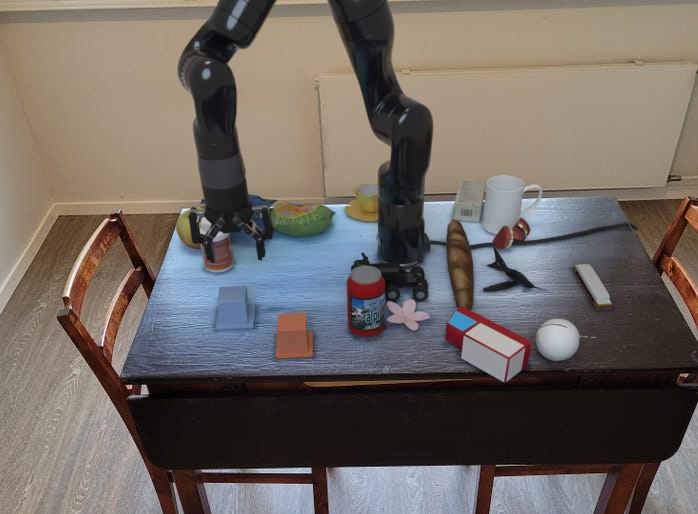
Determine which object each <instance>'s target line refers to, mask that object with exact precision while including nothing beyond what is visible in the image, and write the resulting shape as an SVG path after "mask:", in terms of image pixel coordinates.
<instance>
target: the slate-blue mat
mask: <svg viewBox="0 0 698 514" xmlns="http://www.w3.org/2000/svg"><path fill="white" fill-rule="evenodd" d="M256 309H257V306H256V303H249V316H248V323H233V324H221V321H220V316H219V310H217V316H216V322H215V331H224V330H245V329H247V330H248V329H254V328H255V318H256Z"/></svg>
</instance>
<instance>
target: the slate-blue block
mask: <svg viewBox="0 0 698 514" xmlns="http://www.w3.org/2000/svg"><path fill="white" fill-rule="evenodd" d="M216 304H217V309H218V310H219V316H220V321H221V324H233V323H248V316H249V304H250V302H249V295H248V287H247V285H234V286H233V285H232V286H219V289H218V295H217V301H216ZM218 310H217V311H218Z"/></svg>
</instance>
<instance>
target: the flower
mask: <svg viewBox="0 0 698 514" xmlns="http://www.w3.org/2000/svg"><path fill="white" fill-rule="evenodd" d="M385 305H386V306H387V308H388V309H389V311H390V312H391V313H392V314H391V315H390V316H388V317H387V319H386V321H387V322H389V323H391V324H404V325H405V326H406V327H407V328H408V329H410V330H411V331H417V330H418V329H419V323H418V321H420V322H421V321H424V320H428V319H430V318H431V316H430V314H429V313H428V312H426V311H416V307H417V304H416V300H415V299H411V298H408V299H406V300H405V301H404V302H403V303H402V307H401V305H399V304H398V303H396V302H394V301H389V300H387V302H385Z"/></svg>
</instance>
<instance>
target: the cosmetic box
mask: <svg viewBox="0 0 698 514" xmlns="http://www.w3.org/2000/svg"><path fill="white" fill-rule="evenodd" d="M486 185H487V181H480V180H471V179H459V184H458V187H457V192H456V195H455V199H454V203H453V213H452V218H453V219H452V220H457V221H464V222H477V223H480V222H481V215H482V211H483V210H482V209H483V207H484V201H485V194H486Z"/></svg>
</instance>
